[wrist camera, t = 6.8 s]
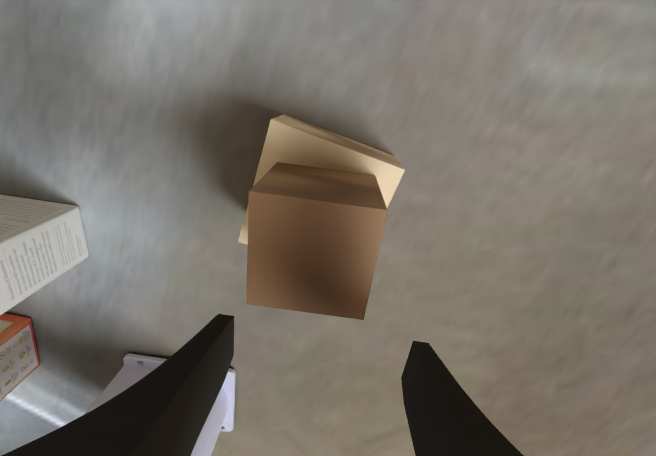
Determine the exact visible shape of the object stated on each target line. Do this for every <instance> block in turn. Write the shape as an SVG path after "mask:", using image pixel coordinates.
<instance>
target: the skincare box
mask: <svg viewBox="0 0 656 456" xmlns="http://www.w3.org/2000/svg"><path fill="white" fill-rule="evenodd" d="M88 255H89V252H88V248H87V244H86V239H85V234H84V229H83V224H82V218H81V213H80V209H79V207H78V206H75V205H68V204H61V203H54V202H47V201H41V200H34V199H27V198H20V197H14V196H7V195H1V194H0V315H2V314H3V313H5V312H6V311H8V310H9V309H11V308H12V307H14V306H15V305H17V304H18V303H20V302H21V301H23V300H24V299H26V298H27V297H29V296H30V295H32V294H33V293H35V292H36V291H38V290H39V289H41V288H42V287H44V286H45V285H47V284H48V283H50V282H51V281H53V280H54V279H56V278H57V277H59V276H60V275H62V274H63V273H65V272H66V271H68V270H69V269H71V268H72V267H74V266H75V265H77V264H78V263H80V262H81V261H83V260H84V259H86V258H87V257H88Z"/></svg>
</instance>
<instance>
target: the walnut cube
mask: <svg viewBox="0 0 656 456" xmlns="http://www.w3.org/2000/svg"><path fill="white" fill-rule="evenodd" d="M386 215H387V207H386V204H385V202H384V199H383V196H382V193H381V190H380V187H379V185H378V182H377V179H376V176H375V175H369V174H361V173H354V172H347V171H339V170H332V169H325V168H318V167H310V166H303V165H296V164H288V163H281V162H277V163H276V164H275V165H274V166H273V167H272V168H271V169H270V170H269V171H268V172H267V173H266V174H265V175H264V176H263V177H262V178H261V179H260V180H259V181H258V182H257V183H256V184H255V185H254V186H253V187H252V188H251V190H250V191H249V207H248V253H247V299H246V304H250V305H258V306H265V307H272V308H280V309H287V310H295V311H302V312H309V313H317V314H324V315H332V316H339V317H346V318H354V319H361V320H364V315H365V311H366V306H367V302H368V297H369V293H370V288H371V283H372V279H373V274H374V270H375V265H376V261H377V256H378V251H379V247H380V242H381V238H382V233H383V228H384V224H385V219H386Z"/></svg>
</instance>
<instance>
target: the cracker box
mask: <svg viewBox="0 0 656 456" xmlns="http://www.w3.org/2000/svg"><path fill="white" fill-rule="evenodd" d="M39 365H40V361H39V357H38V352H37V347H36V342H35V336H34V331H33V326H32V322H31V319H30V318H27V317H22V316H17V315H12V314H7V313H3V314H2V315H0V401H1V400H2V399H3V398H4V397H5V396H6V395H7V394H9V393H10V392H11V391H12V390H13V389H14V388H15V387H16V386H17V385H18V384H19V383H20V382H22V381H23V380H24V379H25V378H26V377H27V376H28V375H29V374H30V373H31V372H32V371H33V370H34V369H36V368H37V367H38V366H39Z"/></svg>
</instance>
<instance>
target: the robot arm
mask: <svg viewBox="0 0 656 456" xmlns="http://www.w3.org/2000/svg"><path fill="white" fill-rule="evenodd" d="M233 353H234V316H229V315H222V314H218V315H217V316H215V317H214V318H213V319H212V320H211V321H210V322H209V323H208V324H207V325H206V326H205V327H204V328H203V329H202V330H201V331H200V332H198V333H197V334H196V335H195V336H194V337H193V338H192V339H191V340H190V341H188V342H187V343H186V344H185V345H184V346H183V347H182V348H180V349H179V350H178V351H177V352H176V353H174V354H173V355H172V356H171V357H169V358H168V359H164V358H157V357H150V356H143V355H137V354H127V355H126V356H125V357H124V358H123V362H124V366H123V367H122V368H121V370H120V371H119V372H118V373H117V375H116V376H115V377H114V378H113V380H112V381H111V382H110V383H109V385H108V386H107V387H106V388H105V390H104V391H103V392H102V393H101V395H100V396H99V397H98V398H97V400H96V401H95V402H94V403H93V405H92V406H91V407H90V408H89V409H88V411H87V412H86V413H85V414H84V415H83V416H81V417H79V418H77V419H76V420H74V421H72V422H70V423H68V424H66V425H64V426H62V427H61V428H59V429H57V430H55V431H53V432H51V433H49V434H47V435H45V436H43V437H41V438H39V439H36V440H34V441H32V442H30V443H28V444H26V445H24V446H21V447H19V448H17V449H15V450H13V451H11V452H9V453H6V454H4V455H2V456H211V454H212V451H213V449H214V446H215V443H216V441H217V438H218V435H219V432H220V431H226V432H230V431H232V430H233V427H234V406H235V377H236V373H235V371H234V370H233V369H231V368H229V367H230V364H231V361H232V358H233ZM401 379H402V389H403V398H404V406H405V410H406V415H407V419H408V424H409V428H410V433H411V437H412V442H413V446H414V450H415V455H416V456H523V455H522V454H521V453H520V452H519V451H518V450H517V449H516V448H515V447H514V446H513V445H512V444H511V443H510V442H509V441H508V440H507V439H506V438H505V437H504V436H503V435H502V434H501V433H500V431H499V430H498V429H497V428H496V427H495V426H494V425H493V424H492V423H491V422H490V421H489V420H488V419H487V418H486V416H485V415H484V414H483V413H482V412H481V411H480V409H479V408H478V407H477V406H476V405H475V404H474V402H473V401H472V400H471V399H470V398H469V396H468V395H467V394H466V393H465V391H464V390H463V389H462V388H461V386H460V385H459V384H458V382H457V381H456V380H455V379H454V377H453V376H452V375H451V373H450V372H449V371H448V369H447V368H446V366H445V365H444V364H443V362H442V361H441V360H440V358H439V357H438V356H437V354H436V353H435V351H434V350H433V349H432V347H431V346H430V345H429V343H425V342H417V341H413V343H412V346H411V349H410V352H409V356H408V359H407V362H406V365H405V368H404V371H403V374H402V377H401Z"/></svg>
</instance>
